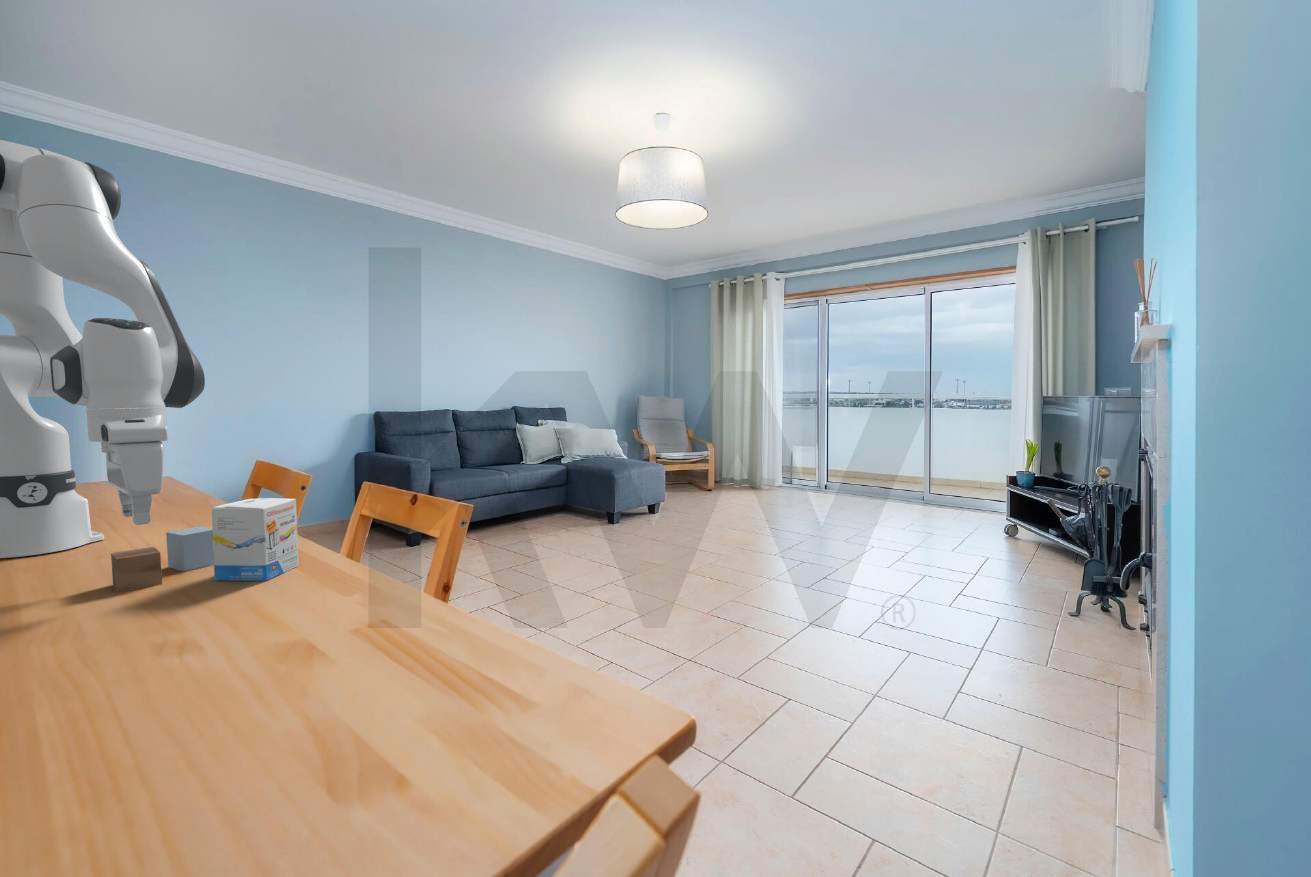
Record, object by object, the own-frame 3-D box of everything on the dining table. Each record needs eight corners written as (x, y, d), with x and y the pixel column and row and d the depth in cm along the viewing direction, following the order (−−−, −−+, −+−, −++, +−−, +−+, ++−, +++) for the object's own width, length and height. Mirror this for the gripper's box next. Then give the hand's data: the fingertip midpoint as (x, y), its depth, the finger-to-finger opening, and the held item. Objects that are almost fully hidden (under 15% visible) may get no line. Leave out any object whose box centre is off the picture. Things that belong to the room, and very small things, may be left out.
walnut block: (113, 585, 90) (110, 553, 90) (155, 577, 94) (153, 546, 93) (118, 592, 87) (116, 559, 86) (162, 584, 90) (160, 552, 90)
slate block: (168, 567, 99) (166, 532, 98) (201, 560, 103) (200, 526, 103) (184, 571, 97) (182, 535, 96) (218, 563, 101) (216, 529, 101)
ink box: (266, 582, 92) (263, 507, 91) (212, 581, 92) (208, 506, 91) (301, 565, 100) (298, 497, 99) (251, 565, 100) (248, 496, 100)
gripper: (90, 427, 93) (98, 515, 94) (110, 431, 79) (118, 533, 80) (143, 425, 97) (149, 508, 98) (170, 428, 84) (177, 525, 85)
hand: (136, 519), depth 89 cm, fingers open, 8 cm apart
